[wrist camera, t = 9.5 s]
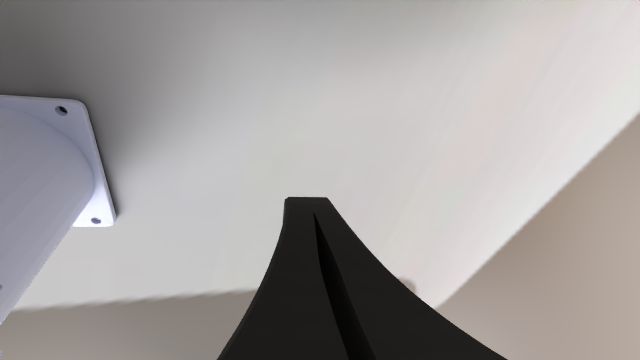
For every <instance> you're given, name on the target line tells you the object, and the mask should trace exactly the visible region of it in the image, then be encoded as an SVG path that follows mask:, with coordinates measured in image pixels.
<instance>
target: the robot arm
mask: <svg viewBox="0 0 640 360" xmlns="http://www.w3.org/2000/svg"><path fill="white" fill-rule="evenodd" d="M59 106H62V107H64V108H65V109H66V110H67V113H64V112H62V111H61V110H60V109H59ZM95 218H99V219H100V220H97V219H95ZM115 221H116V214H115V210H114V207H113V203H112V199H111V196H110V192H109V188H108V185H107V181H106V177H105V174H104V170H103V166H102V163H101V159H100V155H99V152H98V148H97V144H96V141H95V137H94V133H93V130H92V126H91V122H90V119H89V115H88V111H87V109H86V107H85V105H84V104H83V103H81V102H80V101H78V100H73V99H59V98H43V97H27V96H12V95H0V325H1V324H2V322H3V321H4V320H5V318H6V317H7V315H8V314H9V313H10V311H11V310H12V308H13V307H14V306H15V304H16V303H17V301H18V300H19V299H20V297H21V296H22V295H23V293H24V292H25V290H26V289H27V288H28V286H29V285H30V283H31V282H32V281H33V279H34V278H35V276H36V275H37V274H38V272H39V271H40V269H41V268H42V267H43V265H44V264H45V262H46V261H47V260H48V258H49V257H50V255H51V254H52V253H53V251H54V250H55V248H56V247H57V246H58V244H59V243H60V242H61V240H62V239H63V237H64V236H65V235H66V233H67V232H68V230H69V229H70V228H71V227H108V226H112V225H113V224H114V223H115ZM1 355H2V352H1V351H0V357H1ZM217 360H507V359H506V358H504V357H502V356H501V355H499V354H497V353H496V352H494V351H492V350H491V349H489V348H488V347H486V346H485V345H483V344H482V343H480V342H479V341H477V340H476V339H474V338H473V337H471V336H470V335H468V334H467V333H465V332H464V331H462V330H461V329H459V328H458V327H457V326H455V325H454V324H453V323H451V322H450V321H448V320H447V319H446V318H444V317H443V316H442V315H440V314H439V313H438V312H436V311H435V310H434V309H433V308H431V307H430V306H429V305H427V304H426V303H425V302H424V301H422V300H421V299H420V298H419V297H417V296H416V295H415V294H414V293H413V292H411V291H410V290H409V289H408V288H407V287H406V286H405V285H404V284H402V283H401V282H400V281H399V280H398V279H397V278H396V277H395V276H394V275H393V274H391V273H390V272H389V271H388V270H387V269H386V268H385V267H384V266H383V265H382V263H381V262H380V261H379V260H378V259H377V258H376V257H375V256H374V255H373V254H372V253H371V252H370V251H369V249H368V248H367V247H366V246H365V245H364V244H363V243H362V241H361V240H360V239H359V238H358V237H357V235H356V234H355V233H354V232H353V231H352V229H351V228H350V227H349V226H348V224H347V223H346V222H345V220H344V219H343V218H342V217H341V215H340V214H339V213H338V211H337V210H336V209H335V207H334V206H333V204H332V203H331V202H330V200H329V199H328V198H327V197H288V198H287V199H285V202H284V214H283V226H282V229H281V233H280V236H279V240H278V243H277V246H276V249H275V251H274V254H273V256H272V259H271V262H270V264H269V267H268V269H267V271H266V274H265V276H264V278H263V280H262V282H261V284H260V286H259V289H258V291H257V293H256V295H255V297H254V298H253V300H252V302H251V304H250V306H249V308H248V309H247V311H246V313H245V315H244V317H243V319H242V320H241V322H240V324H239V325H238V327H237V329H236V330H235V332H234V333H233V335H232V337H231V338H230V340H229V341H228V343H227V344H226V346H225V348H224V349H223V351H222V353H221V354H220V355H219V357H218V359H217Z"/></svg>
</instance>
